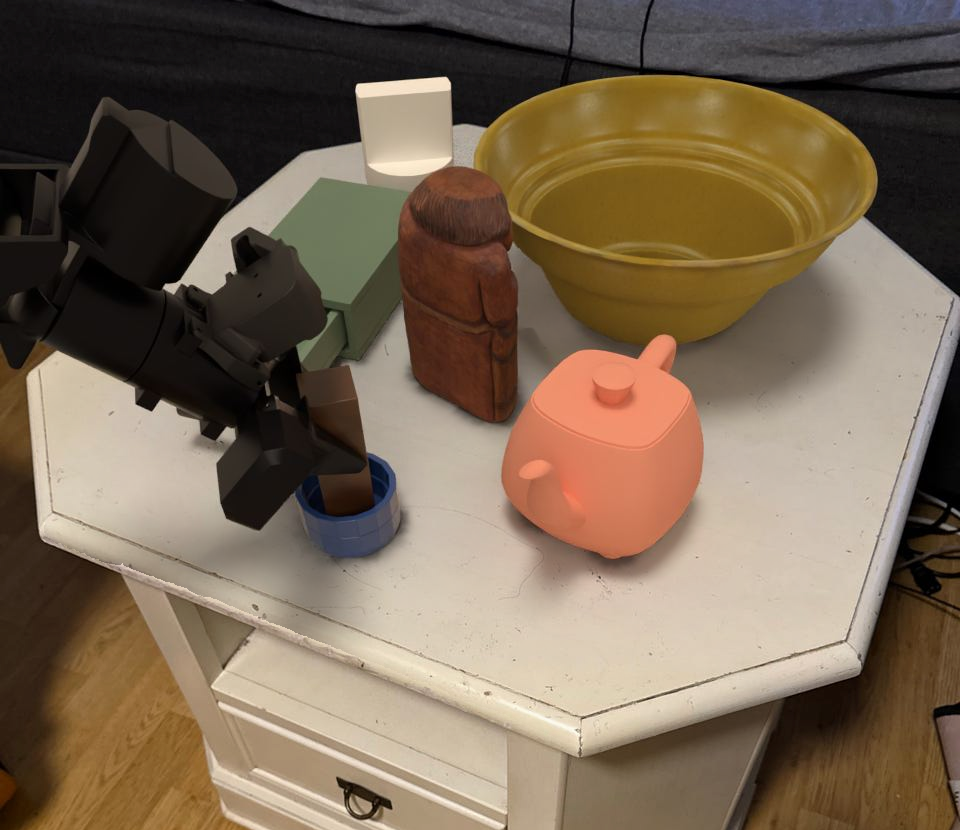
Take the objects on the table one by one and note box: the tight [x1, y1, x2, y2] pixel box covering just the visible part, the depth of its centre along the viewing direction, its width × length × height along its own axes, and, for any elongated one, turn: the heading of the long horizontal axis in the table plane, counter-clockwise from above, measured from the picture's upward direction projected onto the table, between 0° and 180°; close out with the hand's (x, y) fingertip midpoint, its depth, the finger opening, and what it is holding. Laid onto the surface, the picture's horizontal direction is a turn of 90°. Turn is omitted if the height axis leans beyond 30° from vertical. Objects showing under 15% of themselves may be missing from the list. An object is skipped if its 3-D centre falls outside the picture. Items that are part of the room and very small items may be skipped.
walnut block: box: [296, 364, 375, 517], centre depth 59 cm, size 4×4×12 cm
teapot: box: [501, 335, 705, 560], centre depth 60 cm, size 13×20×12 cm, turn 146°
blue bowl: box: [294, 452, 402, 559], centre depth 63 cm, size 7×7×4 cm
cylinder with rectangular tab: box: [355, 76, 455, 192], centre depth 86 cm, size 9×9×12 cm
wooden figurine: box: [398, 165, 519, 423], centre depth 66 cm, size 12×6×18 cm, turn 49°
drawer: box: [175, 307, 348, 421], centre depth 73 cm, size 22×10×4 cm, turn 161°
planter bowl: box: [472, 74, 879, 347], centre depth 75 cm, size 32×32×13 cm
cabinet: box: [232, 176, 412, 361], centre depth 80 cm, size 19×12×6 cm, turn 161°
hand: (359, 448), depth 59 cm, fingers closed on walnut block, 3 cm apart
